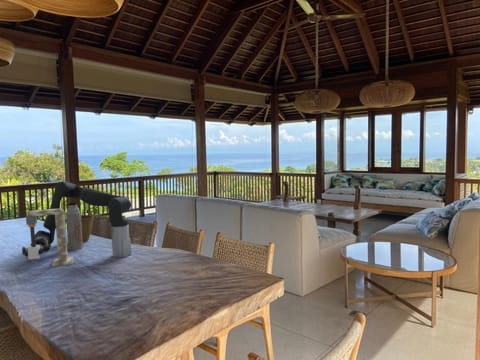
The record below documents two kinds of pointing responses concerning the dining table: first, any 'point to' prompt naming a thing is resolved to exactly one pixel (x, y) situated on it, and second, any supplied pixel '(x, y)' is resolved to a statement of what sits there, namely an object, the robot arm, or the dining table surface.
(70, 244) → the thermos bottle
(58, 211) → the stand
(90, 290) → the dining table surface
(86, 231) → the plant pot
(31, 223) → the dark grey piece
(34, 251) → the sleeve
